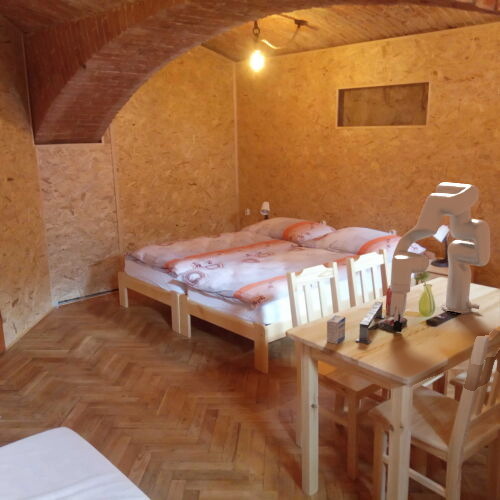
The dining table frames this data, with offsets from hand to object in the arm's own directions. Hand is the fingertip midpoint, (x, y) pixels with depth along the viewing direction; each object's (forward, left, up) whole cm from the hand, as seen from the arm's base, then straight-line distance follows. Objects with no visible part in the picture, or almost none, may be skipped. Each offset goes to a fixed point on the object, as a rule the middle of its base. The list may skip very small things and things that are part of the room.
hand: (397, 330), depth 206 cm
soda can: (+5, -23, -1) cm, 24 cm away
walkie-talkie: (+5, -4, -2) cm, 7 cm away
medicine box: (+20, +17, -1) cm, 27 cm away
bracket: (+10, 0, -1) cm, 11 cm away
